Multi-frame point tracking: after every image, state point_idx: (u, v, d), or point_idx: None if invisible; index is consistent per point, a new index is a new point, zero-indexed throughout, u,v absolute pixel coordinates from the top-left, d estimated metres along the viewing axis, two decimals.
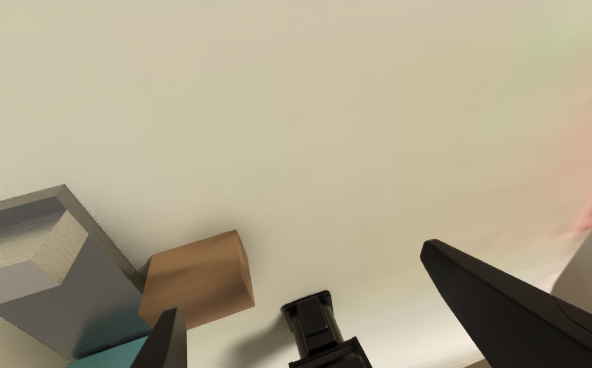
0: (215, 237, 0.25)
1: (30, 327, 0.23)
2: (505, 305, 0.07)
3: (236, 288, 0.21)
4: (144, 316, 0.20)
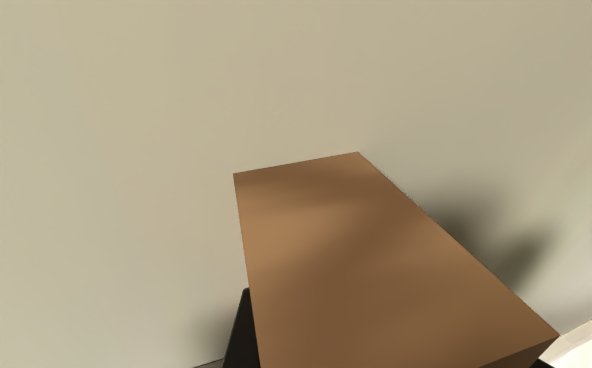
0: None
1: None
2: None
3: None
4: None
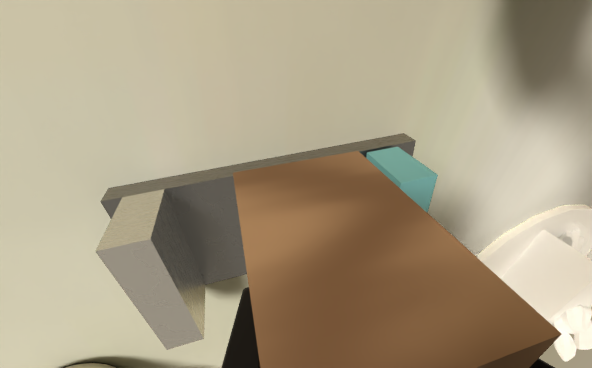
0: None
1: None
2: None
3: None
4: None
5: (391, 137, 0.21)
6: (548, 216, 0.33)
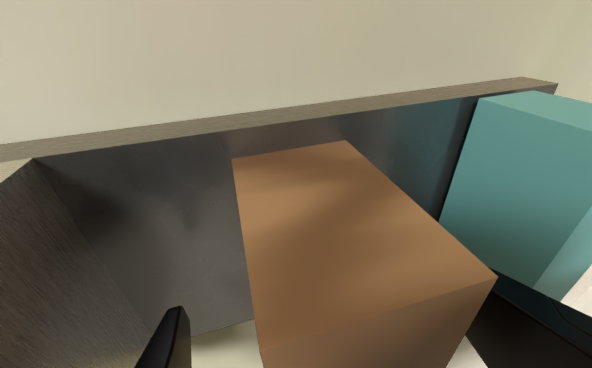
0: None
1: None
2: (501, 306, 0.07)
3: (321, 357, 0.04)
4: None
5: (505, 80, 0.11)
6: None
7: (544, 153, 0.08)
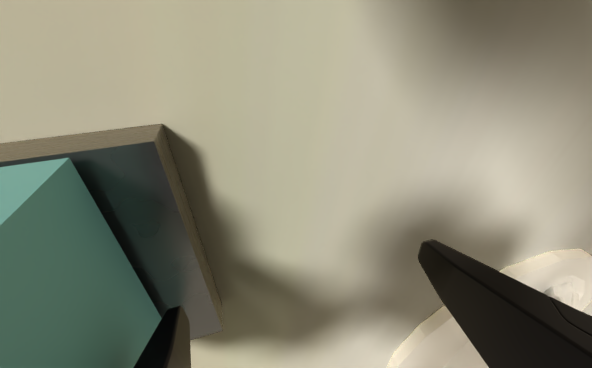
0: None
1: None
2: (502, 306, 0.07)
3: None
4: None
5: (118, 131, 0.08)
6: (526, 270, 0.21)
7: None
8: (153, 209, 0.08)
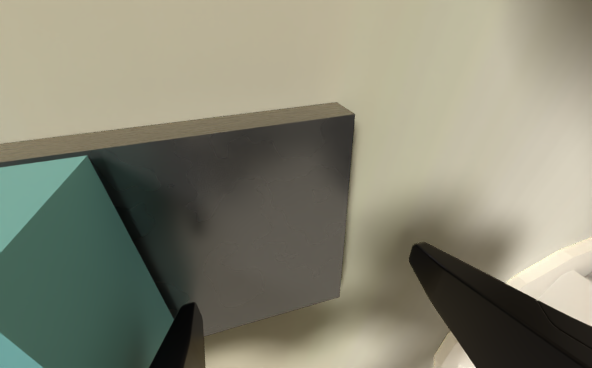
0: None
1: None
2: (491, 310, 0.07)
3: None
4: None
5: (307, 108, 0.09)
6: (580, 251, 0.22)
7: None
8: (332, 176, 0.10)
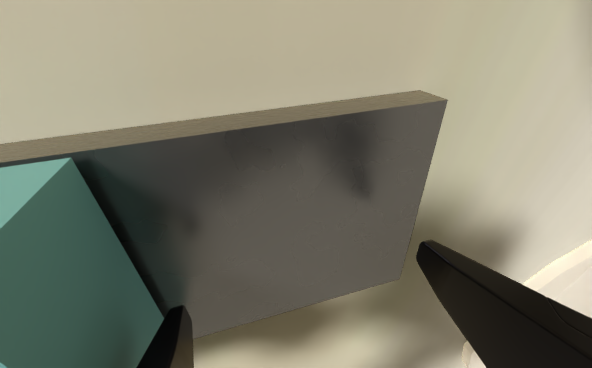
0: None
1: (205, 327, 0.12)
2: (500, 307, 0.07)
3: None
4: None
5: (396, 95, 0.10)
6: None
7: None
8: (417, 159, 0.10)
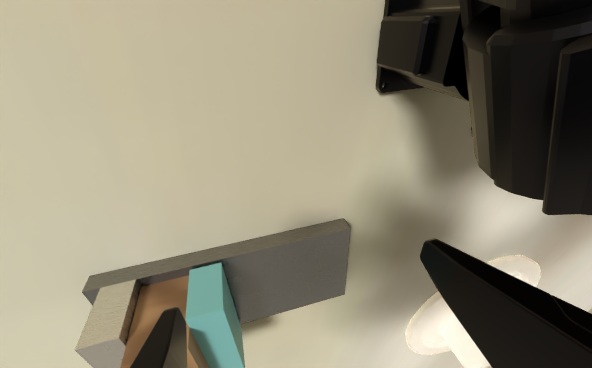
0: None
1: (251, 317, 0.27)
2: (505, 305, 0.07)
3: None
4: None
5: (332, 222, 0.25)
6: None
7: None
8: (341, 247, 0.25)
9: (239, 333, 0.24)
